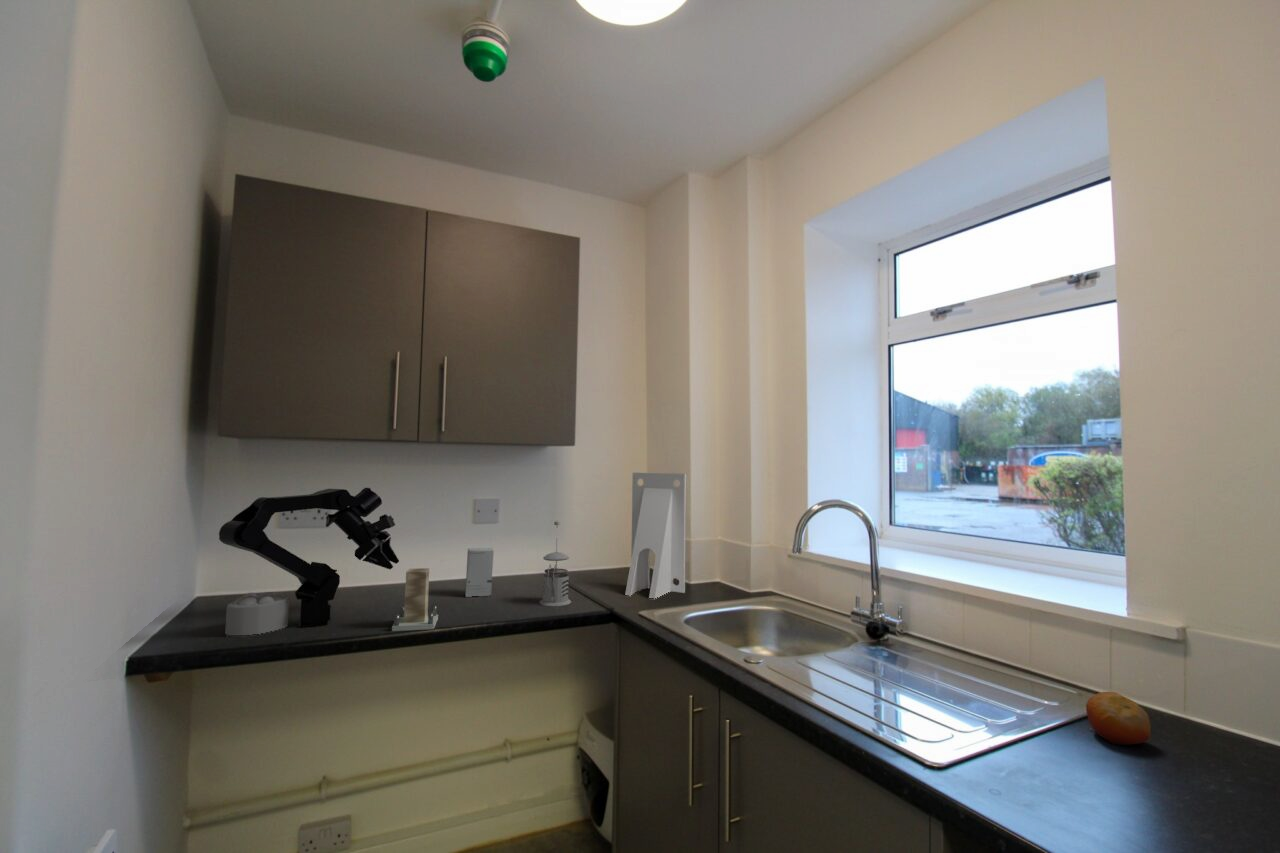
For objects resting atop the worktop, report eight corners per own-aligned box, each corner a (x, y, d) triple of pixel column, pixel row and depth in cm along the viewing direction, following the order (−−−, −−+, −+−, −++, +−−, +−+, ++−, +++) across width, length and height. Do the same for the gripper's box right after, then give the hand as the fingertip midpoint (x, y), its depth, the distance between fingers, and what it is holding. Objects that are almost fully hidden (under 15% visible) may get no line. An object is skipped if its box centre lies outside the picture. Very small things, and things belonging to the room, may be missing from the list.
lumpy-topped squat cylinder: (292, 626, 149) (294, 592, 150) (238, 639, 138) (240, 602, 139) (270, 620, 154) (271, 588, 155) (215, 633, 143) (217, 597, 144)
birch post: (404, 623, 150) (406, 572, 150) (407, 617, 154) (409, 568, 155) (424, 622, 151) (426, 571, 151) (427, 617, 155) (429, 568, 156)
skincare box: (465, 597, 183) (466, 550, 184) (465, 593, 189) (466, 547, 190) (492, 596, 186) (493, 549, 187) (491, 592, 191) (492, 546, 192)
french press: (574, 599, 183) (575, 519, 185) (566, 608, 172) (567, 523, 173) (544, 597, 184) (545, 519, 186) (533, 606, 173) (535, 522, 174)
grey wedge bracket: (612, 594, 191) (614, 472, 194) (632, 586, 204) (633, 472, 206) (667, 601, 182) (669, 474, 185) (684, 592, 195) (685, 473, 198)
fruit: (1110, 714, 99) (1130, 682, 95) (1147, 759, 92) (1170, 727, 88) (1064, 714, 99) (1082, 682, 95) (1098, 759, 92) (1119, 727, 88)
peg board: (392, 631, 146) (392, 616, 147) (399, 620, 156) (399, 606, 156) (433, 629, 149) (434, 614, 149) (438, 618, 158) (438, 605, 159)
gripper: (369, 508, 154) (412, 549, 156) (383, 503, 172) (421, 540, 174) (336, 538, 152) (379, 580, 154) (354, 530, 170) (392, 567, 172)
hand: (395, 565), depth 163 cm, fingers open, 9 cm apart
